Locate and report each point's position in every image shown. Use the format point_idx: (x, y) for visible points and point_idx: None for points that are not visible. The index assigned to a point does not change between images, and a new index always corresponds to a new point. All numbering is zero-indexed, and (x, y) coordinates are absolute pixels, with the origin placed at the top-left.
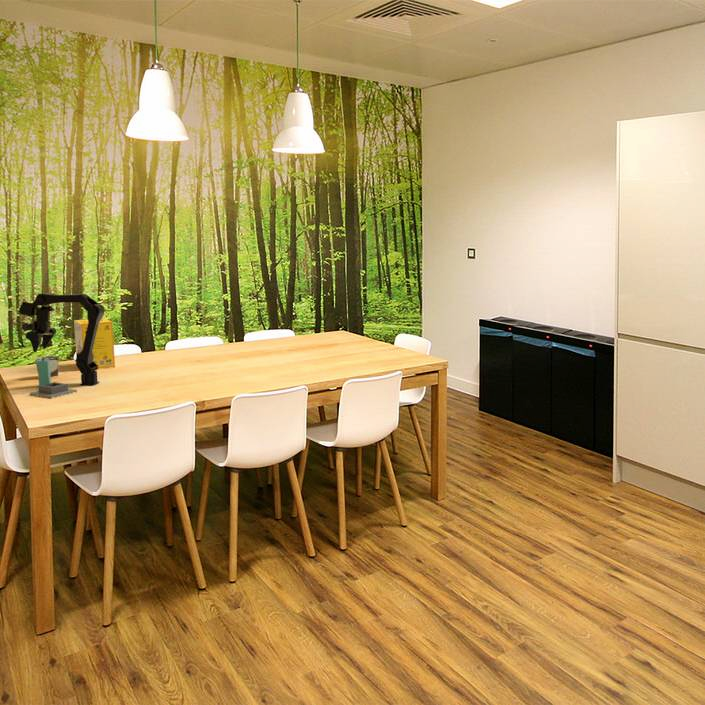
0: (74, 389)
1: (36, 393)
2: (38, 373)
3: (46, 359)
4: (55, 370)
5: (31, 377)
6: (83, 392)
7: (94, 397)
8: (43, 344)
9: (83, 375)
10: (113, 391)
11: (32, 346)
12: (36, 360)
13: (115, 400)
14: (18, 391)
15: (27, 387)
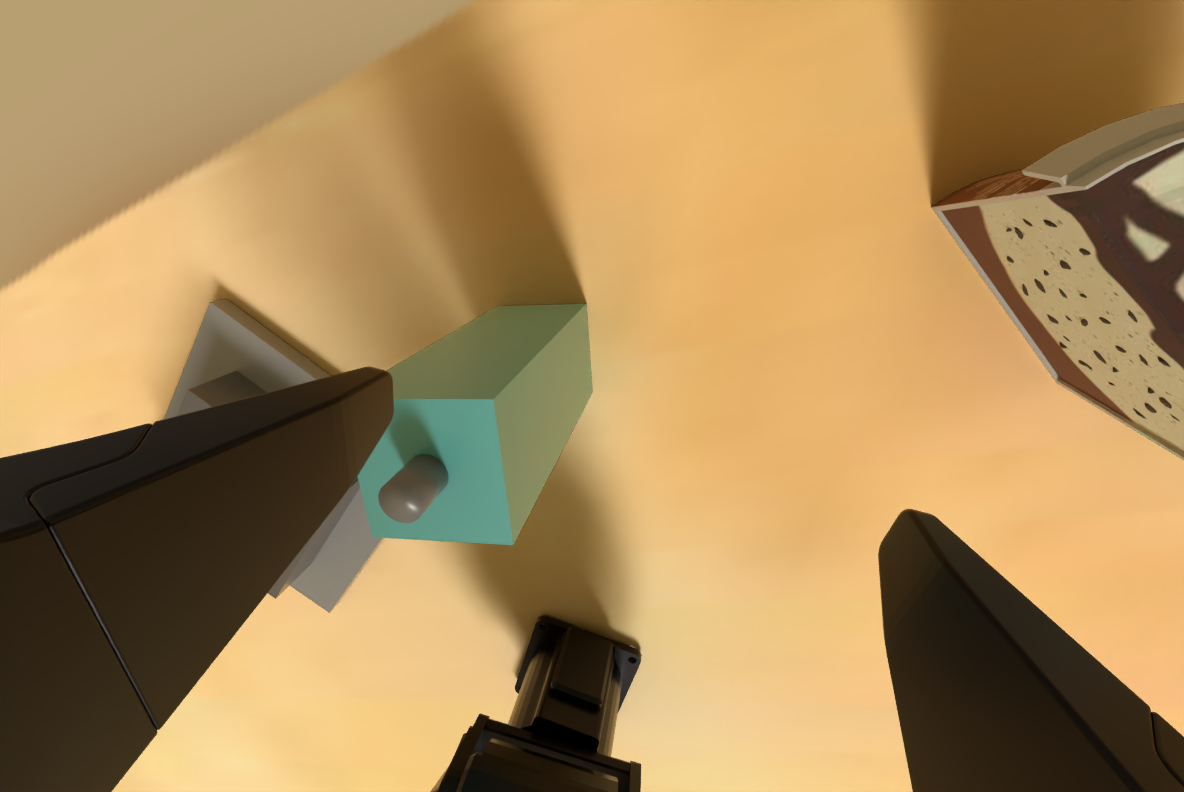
0: (337, 599)
1: (195, 363)
2: (435, 345)
3: (503, 508)
4: (1094, 386)
5: (1114, 40)
6: (329, 636)
7: (221, 689)
8: (957, 611)
9: (530, 700)
10: (362, 772)
11: (190, 421)
12: (1090, 176)
13: (181, 767)
14: (333, 146)
15: (498, 185)
